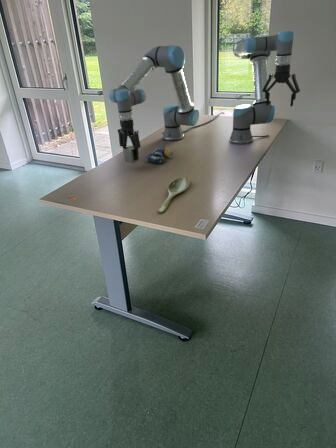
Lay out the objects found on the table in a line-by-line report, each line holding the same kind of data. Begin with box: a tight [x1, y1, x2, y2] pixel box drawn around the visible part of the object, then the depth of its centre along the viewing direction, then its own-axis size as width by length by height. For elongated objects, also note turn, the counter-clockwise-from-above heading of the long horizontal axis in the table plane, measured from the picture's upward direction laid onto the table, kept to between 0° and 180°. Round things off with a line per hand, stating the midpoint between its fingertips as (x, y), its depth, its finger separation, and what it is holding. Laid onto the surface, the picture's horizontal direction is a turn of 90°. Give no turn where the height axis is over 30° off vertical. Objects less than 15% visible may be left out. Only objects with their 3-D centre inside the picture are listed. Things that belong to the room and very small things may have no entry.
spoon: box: [157, 177, 191, 213], centre depth 166 cm, size 35×11×2 cm, turn 159°
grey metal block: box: [122, 145, 140, 164], centre depth 197 cm, size 6×6×8 cm
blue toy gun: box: [144, 147, 175, 165], centre depth 212 cm, size 21×4×15 cm
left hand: (131, 158), depth 198 cm, fingers closed on grey metal block, 6 cm apart
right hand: (279, 105), depth 190 cm, fingers open, 13 cm apart
